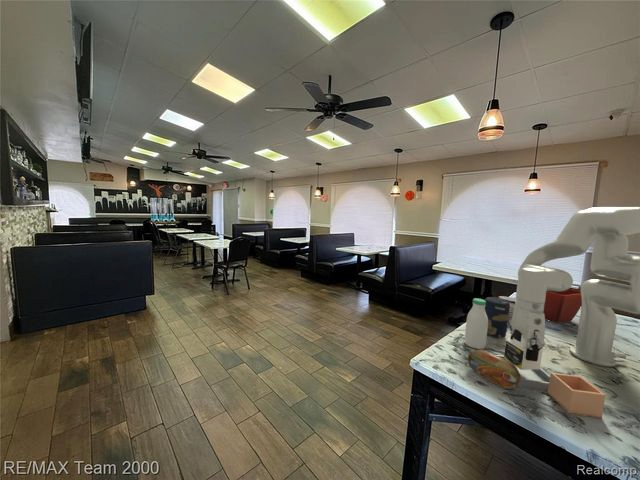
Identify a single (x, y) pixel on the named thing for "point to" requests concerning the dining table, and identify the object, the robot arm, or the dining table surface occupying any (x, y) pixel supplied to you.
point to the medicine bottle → (520, 353)
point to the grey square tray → (532, 378)
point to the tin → (494, 369)
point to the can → (512, 305)
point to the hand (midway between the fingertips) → (522, 352)
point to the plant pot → (562, 305)
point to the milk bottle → (477, 325)
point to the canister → (497, 316)
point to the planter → (576, 395)
